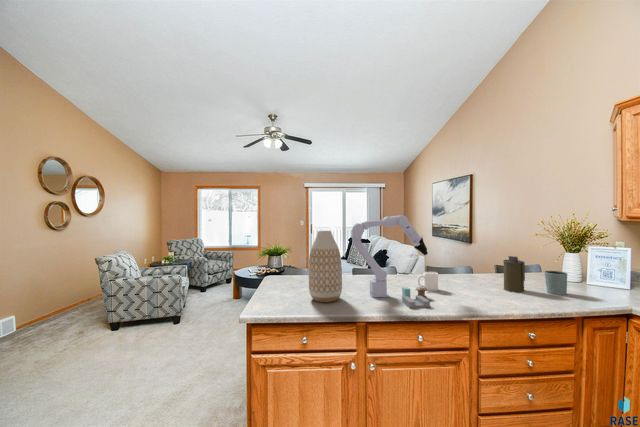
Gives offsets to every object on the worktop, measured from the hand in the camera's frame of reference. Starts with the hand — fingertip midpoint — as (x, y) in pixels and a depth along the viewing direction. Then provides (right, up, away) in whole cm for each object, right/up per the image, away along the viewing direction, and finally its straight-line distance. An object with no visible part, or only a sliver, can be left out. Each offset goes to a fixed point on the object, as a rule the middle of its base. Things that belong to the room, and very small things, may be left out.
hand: (426, 252), depth 163 cm
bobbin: (-4, -25, -4) cm, 25 cm away
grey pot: (+74, -23, 0) cm, 78 cm away
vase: (-57, -26, -3) cm, 63 cm away
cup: (+6, -25, +13) cm, 28 cm away
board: (-11, -25, -15) cm, 31 cm away
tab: (-13, -25, -7) cm, 29 cm away
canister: (+55, -24, +8) cm, 61 cm away
